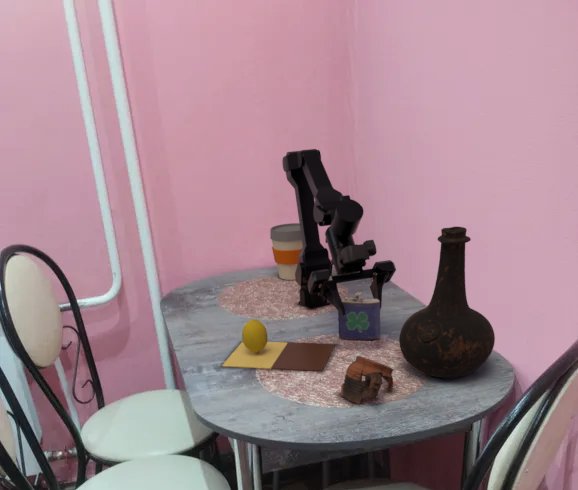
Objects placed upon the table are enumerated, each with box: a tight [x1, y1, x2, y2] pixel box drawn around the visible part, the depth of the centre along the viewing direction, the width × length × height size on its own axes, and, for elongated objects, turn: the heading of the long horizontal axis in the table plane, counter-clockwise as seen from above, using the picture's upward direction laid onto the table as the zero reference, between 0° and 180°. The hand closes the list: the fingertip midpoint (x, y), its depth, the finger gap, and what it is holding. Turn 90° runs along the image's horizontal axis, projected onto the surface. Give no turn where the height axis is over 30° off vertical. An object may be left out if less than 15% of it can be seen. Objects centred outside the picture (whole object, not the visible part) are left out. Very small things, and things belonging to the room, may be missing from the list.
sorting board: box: [221, 340, 336, 372], centre depth 133 cm, size 14×22×1 cm, turn 75°
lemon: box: [241, 318, 268, 353], centre depth 133 cm, size 6×6×8 cm
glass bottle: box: [398, 226, 496, 379], centre depth 115 cm, size 18×18×28 cm
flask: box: [337, 291, 381, 342], centre depth 130 cm, size 9×3×11 cm, turn 74°
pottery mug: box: [340, 355, 394, 405], centre depth 112 cm, size 12×10×8 cm
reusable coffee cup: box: [269, 222, 303, 281], centre depth 186 cm, size 13×13×15 cm
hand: (361, 311), depth 128 cm, fingers closed on flask, 8 cm apart
